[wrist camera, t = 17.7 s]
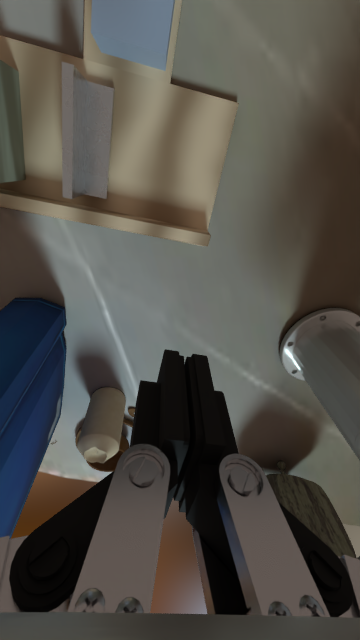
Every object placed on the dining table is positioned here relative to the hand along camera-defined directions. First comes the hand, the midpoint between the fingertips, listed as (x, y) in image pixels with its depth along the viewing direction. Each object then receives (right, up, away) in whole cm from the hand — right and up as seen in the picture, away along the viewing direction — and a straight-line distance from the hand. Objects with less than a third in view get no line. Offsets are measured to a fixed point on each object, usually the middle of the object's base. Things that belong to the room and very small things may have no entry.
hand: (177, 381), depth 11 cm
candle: (-11, -10, +33) cm, 36 cm away
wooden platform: (-7, +23, +14) cm, 28 cm away
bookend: (-8, +19, +15) cm, 26 cm away
